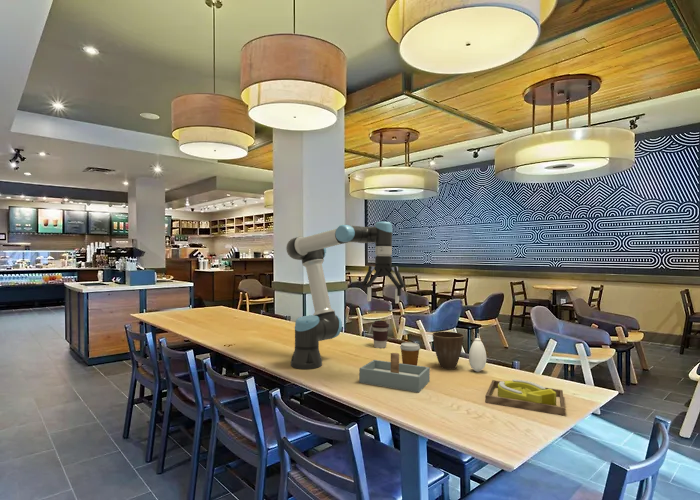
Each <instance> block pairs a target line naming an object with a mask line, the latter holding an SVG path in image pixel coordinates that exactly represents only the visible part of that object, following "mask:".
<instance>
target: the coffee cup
mask: <svg viewBox="0 0 700 500" xmlns="http://www.w3.org/2000/svg"><path fill="white" fill-rule="evenodd" d="M371 327H372V339H373V346H374V348H377V349H385V348H387V342H388V333H389V329H388V328H389V327H390V325H389V323H387V321H386V320H375V321H374V323H371Z"/></svg>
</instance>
